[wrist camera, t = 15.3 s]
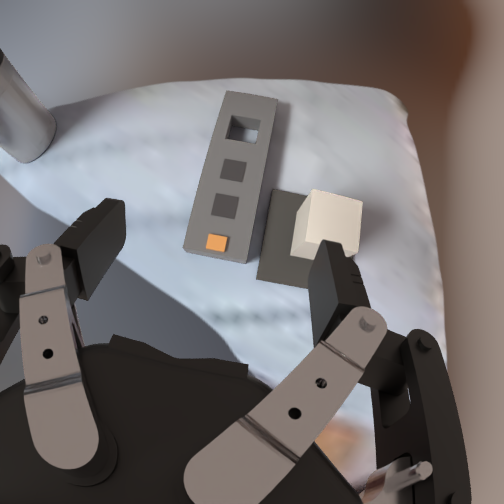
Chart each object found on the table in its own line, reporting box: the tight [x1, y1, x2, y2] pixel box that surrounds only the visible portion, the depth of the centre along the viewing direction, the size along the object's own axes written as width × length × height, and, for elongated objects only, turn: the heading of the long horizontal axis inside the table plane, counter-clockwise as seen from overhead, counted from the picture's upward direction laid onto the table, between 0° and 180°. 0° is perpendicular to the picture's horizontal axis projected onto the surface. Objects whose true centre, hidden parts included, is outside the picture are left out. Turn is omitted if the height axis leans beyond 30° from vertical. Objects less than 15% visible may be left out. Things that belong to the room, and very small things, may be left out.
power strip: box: [183, 91, 278, 264], centre depth 35 cm, size 7×22×3 cm, turn 169°
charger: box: [290, 189, 363, 260], centre depth 31 cm, size 5×5×9 cm
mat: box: [256, 189, 353, 289], centre depth 35 cm, size 11×11×1 cm
